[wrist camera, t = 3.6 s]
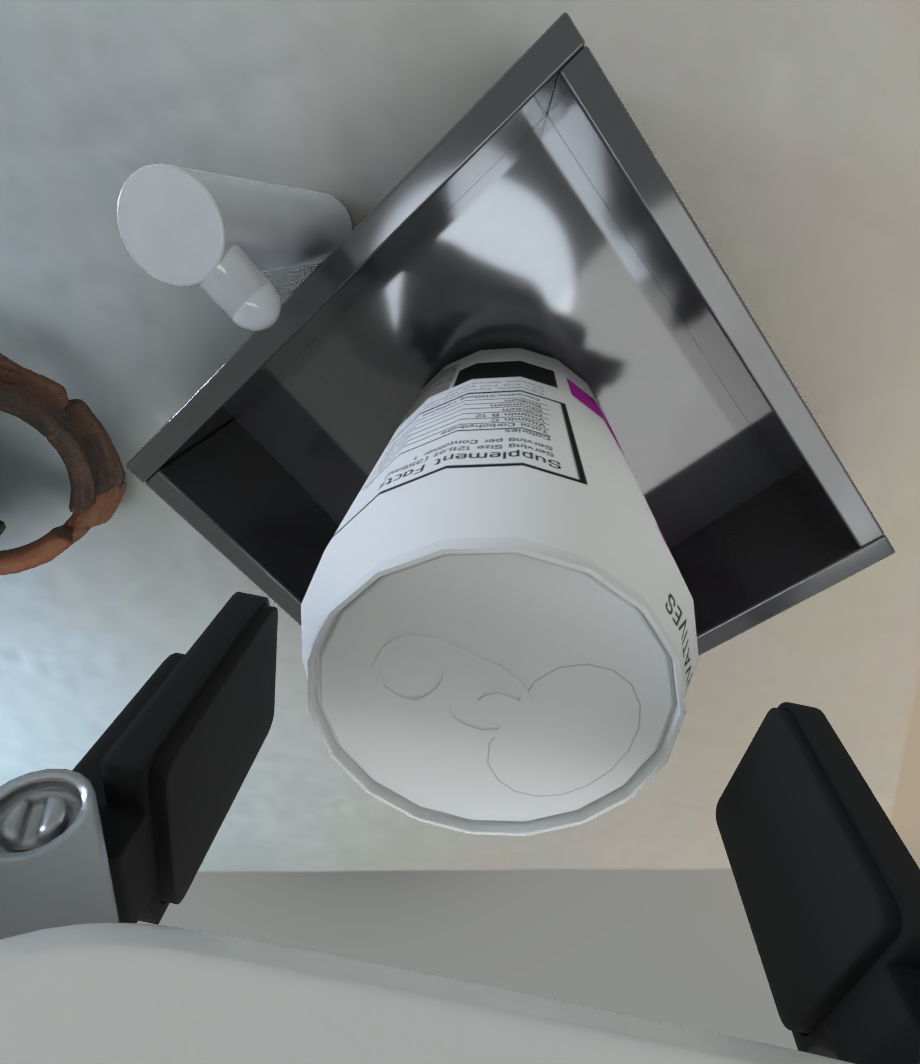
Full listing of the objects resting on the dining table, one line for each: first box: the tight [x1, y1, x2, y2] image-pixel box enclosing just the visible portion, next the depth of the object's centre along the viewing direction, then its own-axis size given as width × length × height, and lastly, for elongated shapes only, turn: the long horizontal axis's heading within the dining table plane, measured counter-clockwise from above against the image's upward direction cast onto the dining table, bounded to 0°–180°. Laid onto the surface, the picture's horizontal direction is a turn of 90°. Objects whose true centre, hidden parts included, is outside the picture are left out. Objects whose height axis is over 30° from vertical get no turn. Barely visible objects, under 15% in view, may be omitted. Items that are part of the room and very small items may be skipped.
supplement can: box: [301, 348, 699, 836], centre depth 18 cm, size 8×8×15 cm
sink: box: [117, 12, 895, 656], centre depth 19 cm, size 20×18×11 cm
